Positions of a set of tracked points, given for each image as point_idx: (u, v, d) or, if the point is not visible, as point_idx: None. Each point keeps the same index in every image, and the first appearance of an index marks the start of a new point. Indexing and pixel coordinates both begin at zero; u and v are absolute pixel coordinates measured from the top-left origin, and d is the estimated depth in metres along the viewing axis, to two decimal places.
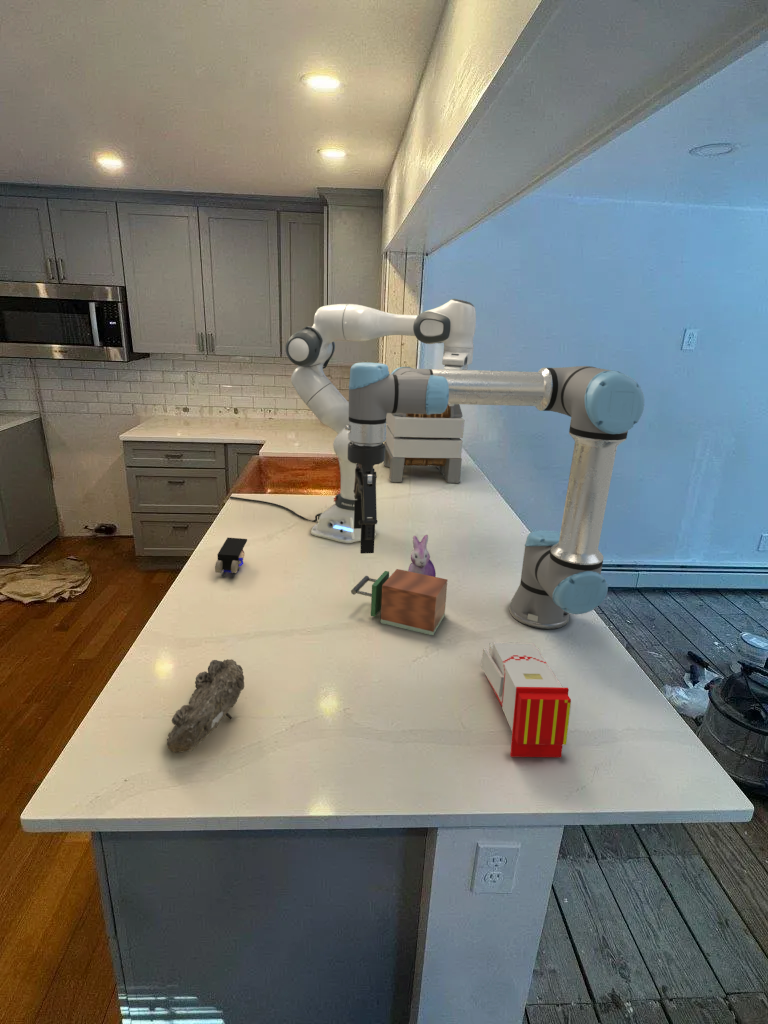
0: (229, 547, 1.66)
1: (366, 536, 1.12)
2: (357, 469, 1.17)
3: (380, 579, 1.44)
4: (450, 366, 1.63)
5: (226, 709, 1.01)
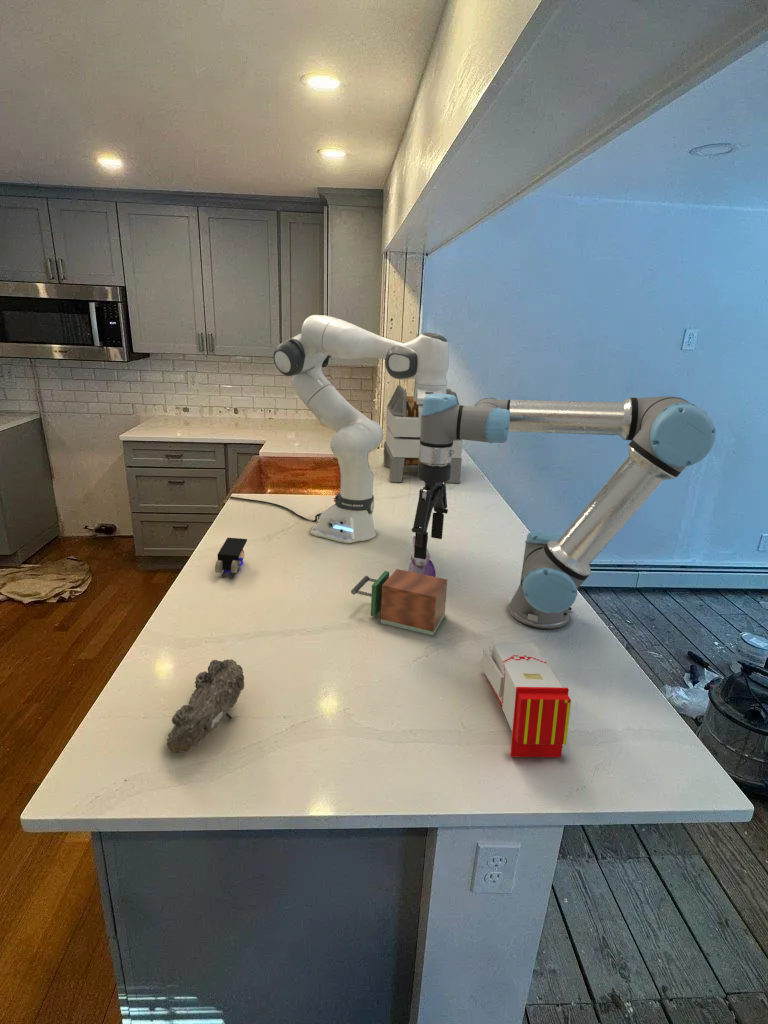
0: (229, 547, 1.66)
1: None
2: None
3: (380, 579, 1.44)
4: None
5: (226, 709, 1.01)
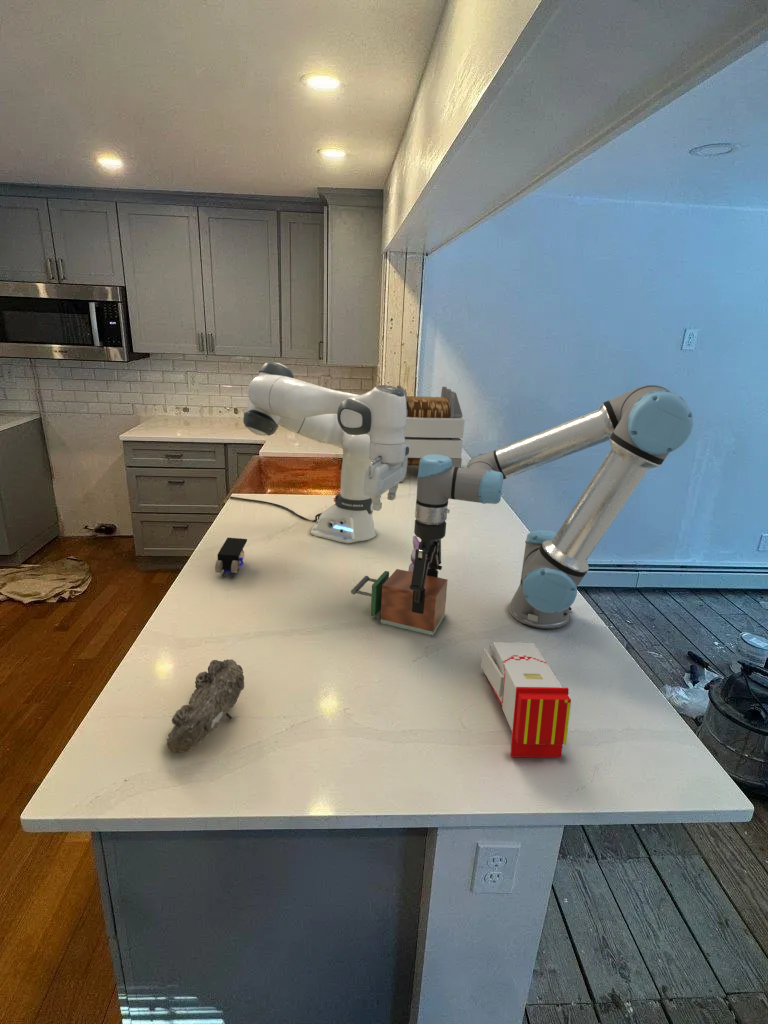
0: (229, 547, 1.66)
1: None
2: (434, 545, 1.36)
3: (380, 579, 1.44)
4: None
5: (226, 709, 1.01)
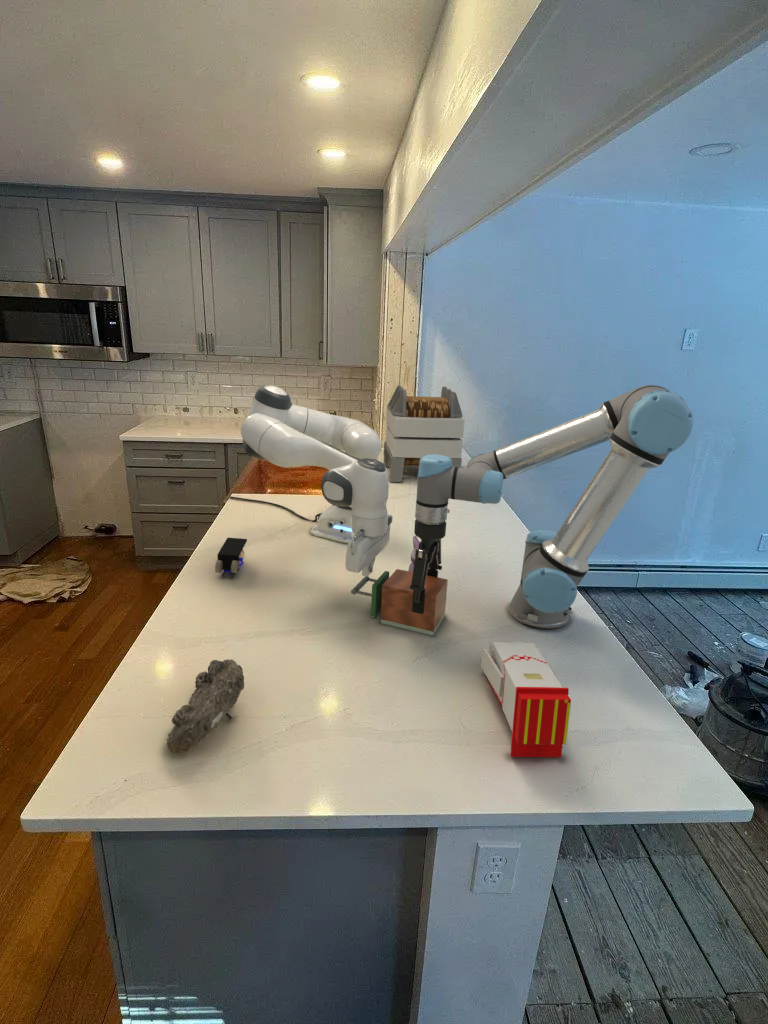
0: (229, 547, 1.66)
1: None
2: (434, 545, 1.36)
3: (380, 579, 1.44)
4: None
5: (226, 709, 1.01)
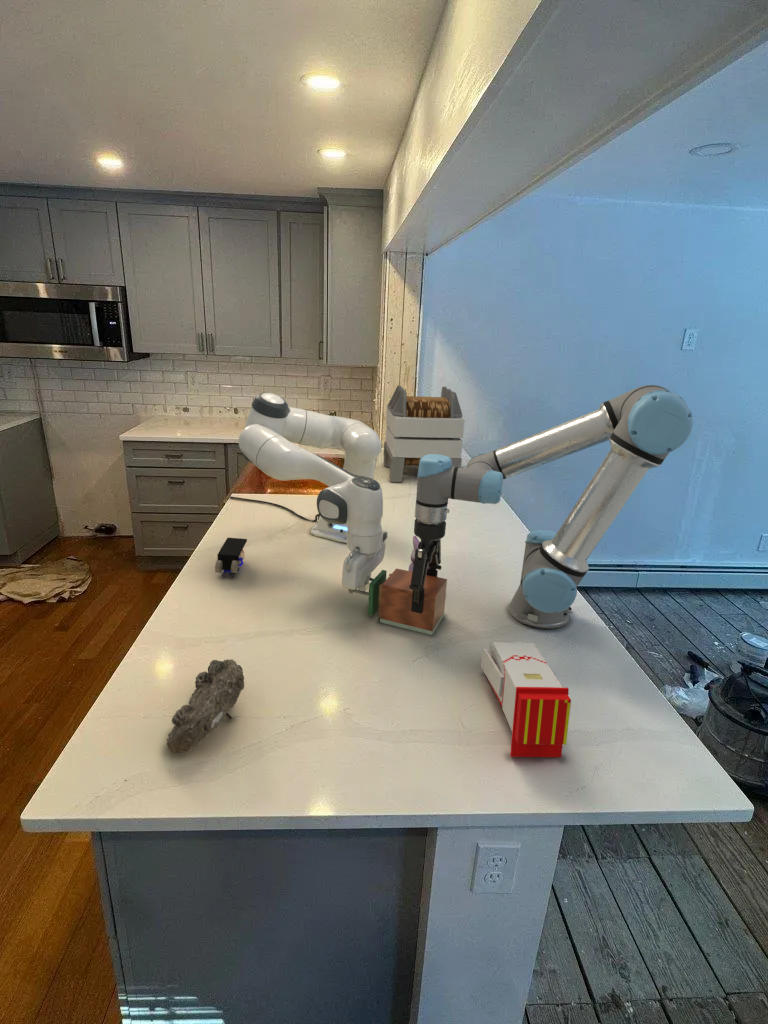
0: (229, 547, 1.66)
1: None
2: (433, 545, 1.36)
3: (377, 578, 1.45)
4: None
5: (226, 709, 1.01)
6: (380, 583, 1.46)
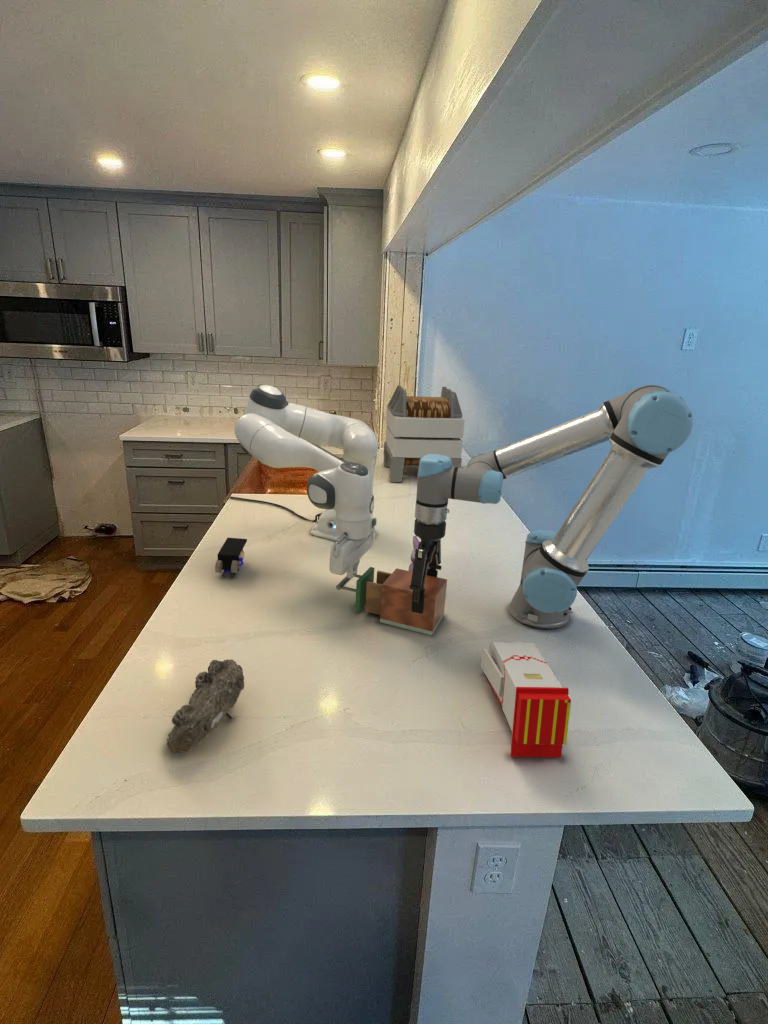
0: (229, 547, 1.66)
1: None
2: (433, 545, 1.36)
3: (365, 575, 1.46)
4: None
5: (226, 709, 1.01)
6: (368, 580, 1.47)
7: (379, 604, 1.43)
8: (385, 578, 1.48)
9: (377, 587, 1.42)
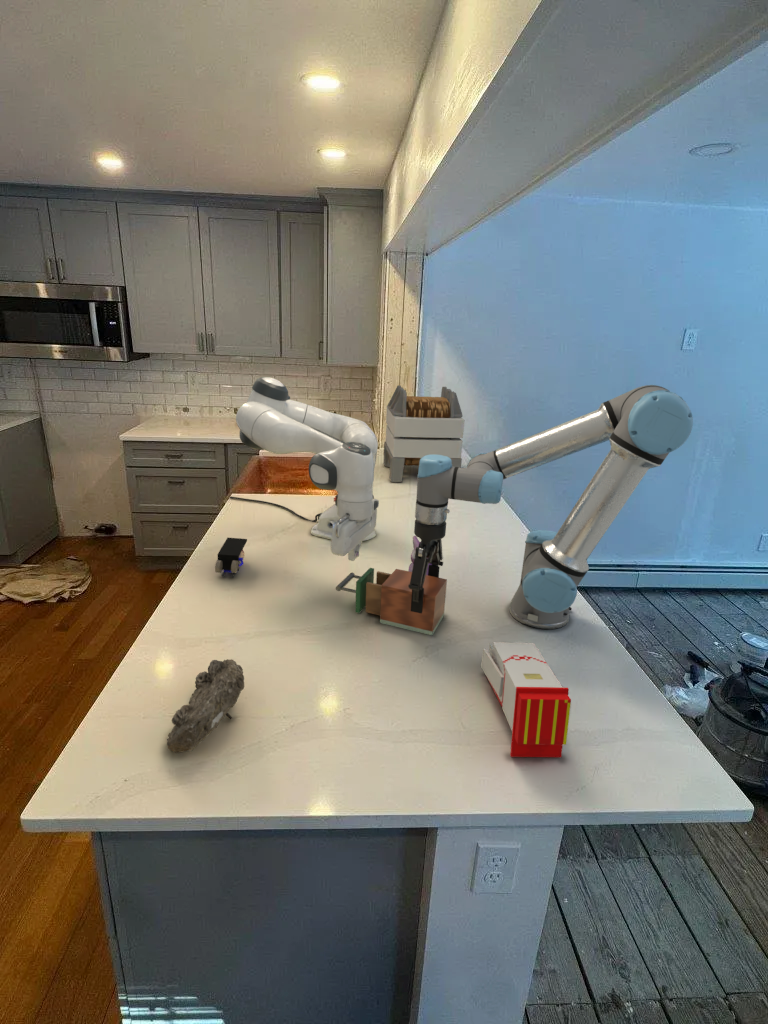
0: (229, 547, 1.66)
1: None
2: None
3: (364, 576, 1.46)
4: None
5: (226, 709, 1.01)
6: (367, 581, 1.47)
7: (379, 605, 1.43)
8: (385, 579, 1.48)
9: (377, 587, 1.42)
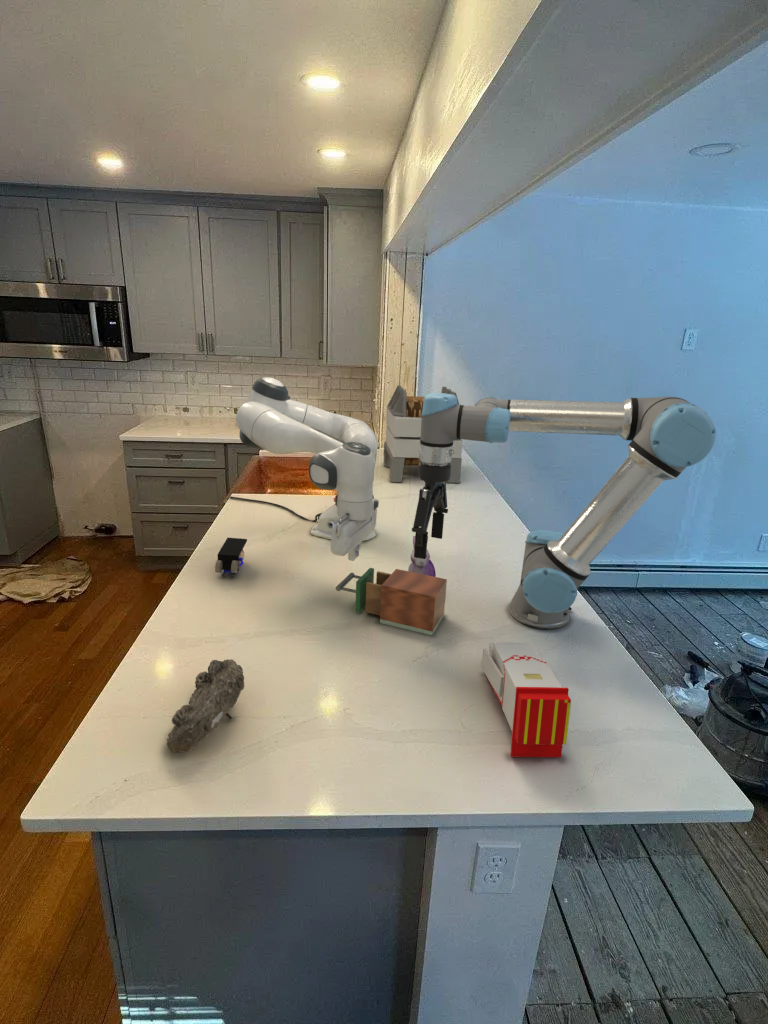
0: (229, 547, 1.66)
1: None
2: None
3: (364, 576, 1.46)
4: None
5: (226, 709, 1.01)
6: (367, 581, 1.47)
7: (379, 605, 1.43)
8: (385, 579, 1.48)
9: (377, 587, 1.42)
